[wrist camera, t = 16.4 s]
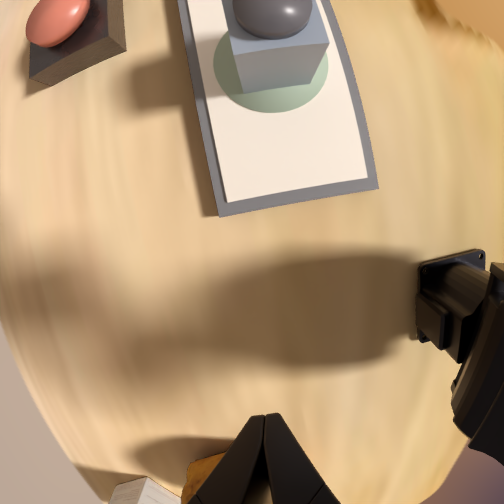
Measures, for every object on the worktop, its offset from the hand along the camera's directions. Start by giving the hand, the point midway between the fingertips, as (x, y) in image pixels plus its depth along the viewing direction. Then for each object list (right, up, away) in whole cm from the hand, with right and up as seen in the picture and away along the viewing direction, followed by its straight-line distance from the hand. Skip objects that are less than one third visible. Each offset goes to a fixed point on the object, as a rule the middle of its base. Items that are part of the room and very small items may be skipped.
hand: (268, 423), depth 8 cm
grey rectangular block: (+1, +17, +8) cm, 18 cm away
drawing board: (+1, +17, +9) cm, 19 cm away
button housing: (-14, +22, +9) cm, 27 cm away
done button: (-14, +22, +8) cm, 27 cm away
